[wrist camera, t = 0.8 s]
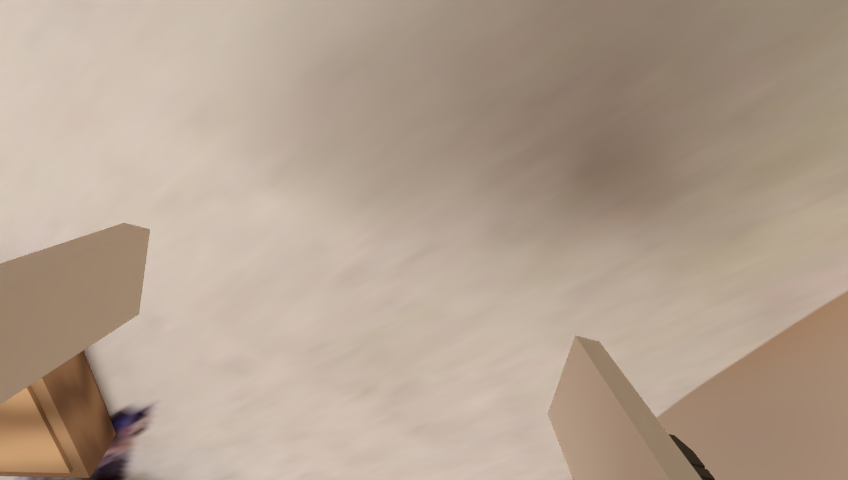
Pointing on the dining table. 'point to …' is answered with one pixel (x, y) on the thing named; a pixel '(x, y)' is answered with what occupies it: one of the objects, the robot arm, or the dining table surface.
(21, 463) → the stand
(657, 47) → the dining table surface
